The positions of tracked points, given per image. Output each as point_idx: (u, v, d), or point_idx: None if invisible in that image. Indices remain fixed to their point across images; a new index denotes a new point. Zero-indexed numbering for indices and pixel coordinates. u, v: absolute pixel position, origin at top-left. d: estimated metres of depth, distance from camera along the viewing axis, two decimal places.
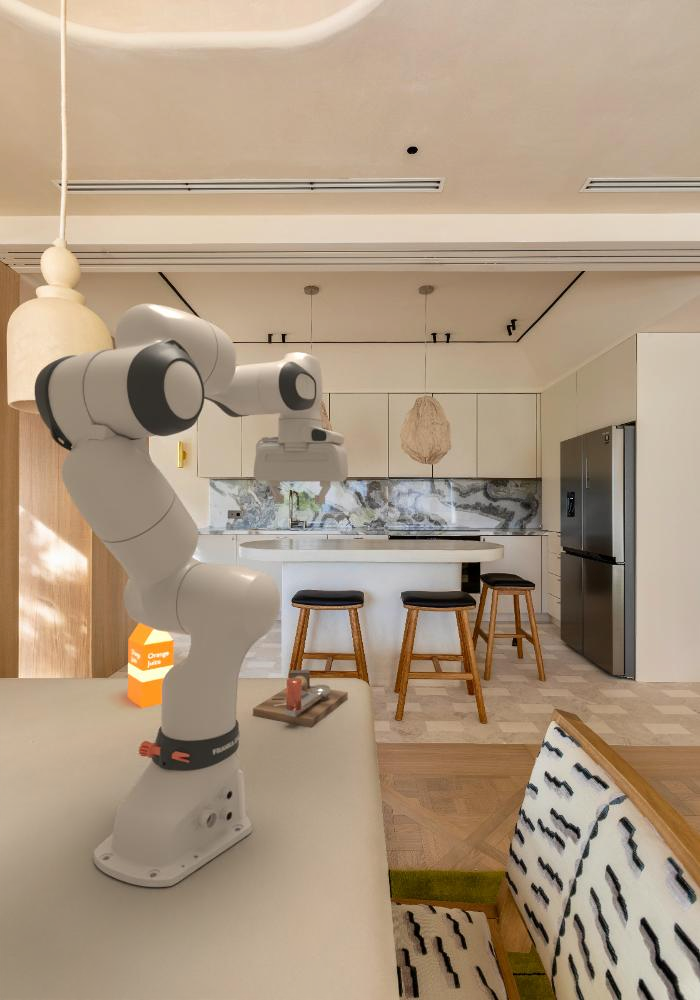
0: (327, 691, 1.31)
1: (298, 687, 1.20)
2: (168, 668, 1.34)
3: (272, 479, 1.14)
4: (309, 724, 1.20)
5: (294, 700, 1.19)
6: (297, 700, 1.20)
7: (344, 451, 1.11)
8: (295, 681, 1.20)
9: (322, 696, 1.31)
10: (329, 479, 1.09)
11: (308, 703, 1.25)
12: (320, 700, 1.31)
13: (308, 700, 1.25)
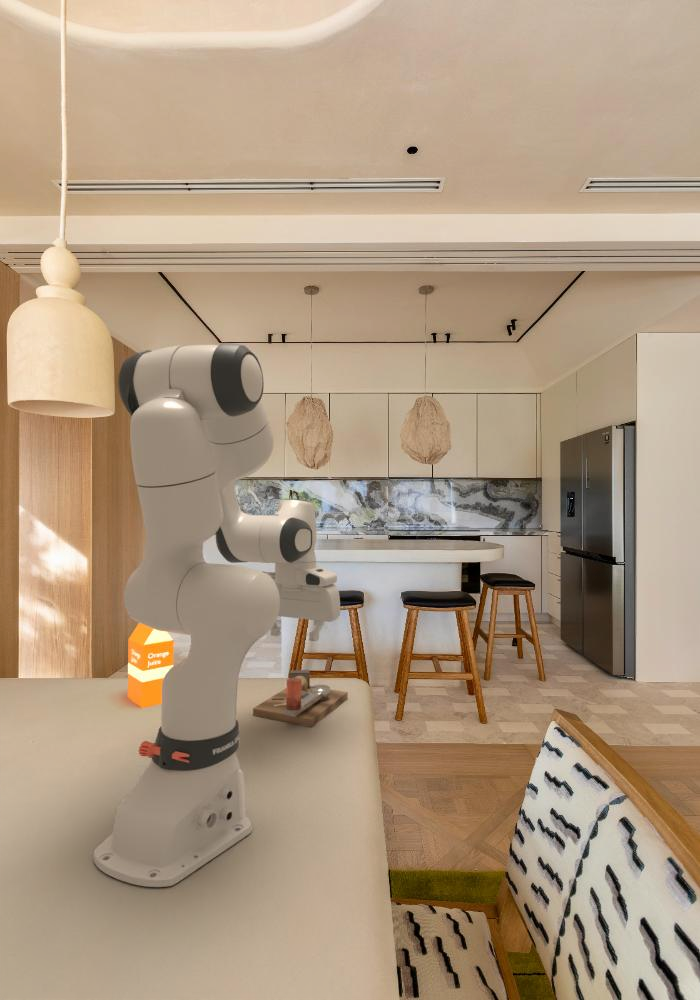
0: (327, 691, 1.31)
1: (298, 687, 1.20)
2: (168, 668, 1.34)
3: None
4: (309, 724, 1.20)
5: (294, 700, 1.19)
6: (297, 700, 1.20)
7: (337, 592, 1.18)
8: (295, 681, 1.20)
9: (322, 696, 1.31)
10: (323, 619, 1.16)
11: (308, 703, 1.25)
12: (320, 700, 1.31)
13: (308, 700, 1.25)
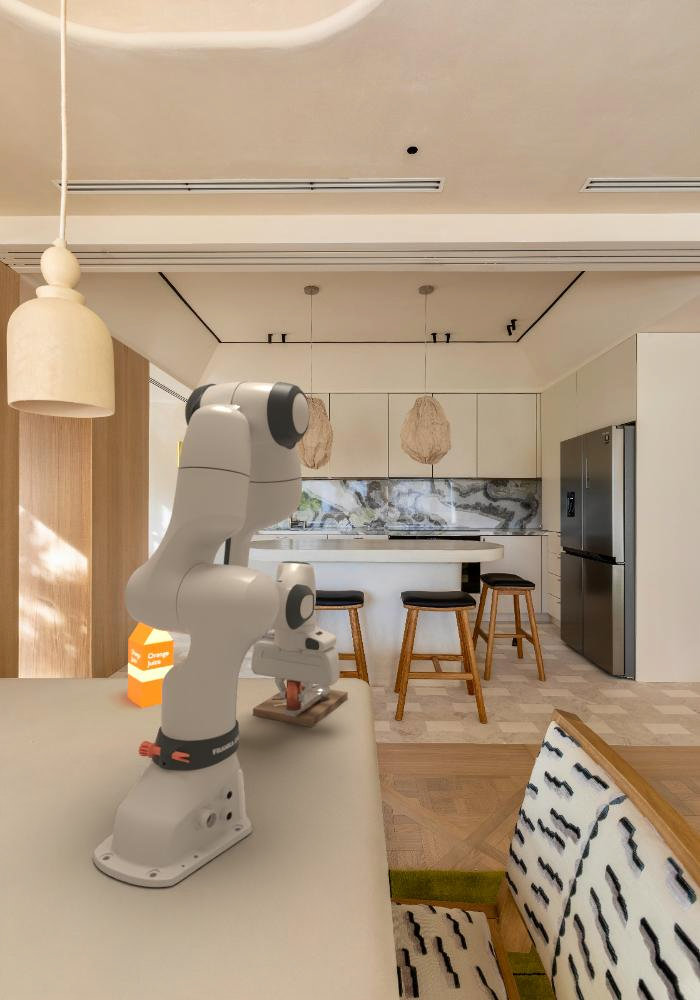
0: (327, 691, 1.31)
1: (298, 687, 1.20)
2: (168, 668, 1.34)
3: (268, 675, 1.21)
4: (309, 724, 1.20)
5: (294, 700, 1.19)
6: (297, 700, 1.20)
7: (336, 655, 1.18)
8: (295, 681, 1.20)
9: (322, 696, 1.31)
10: (322, 684, 1.16)
11: (308, 703, 1.25)
12: (320, 700, 1.31)
13: (308, 700, 1.25)
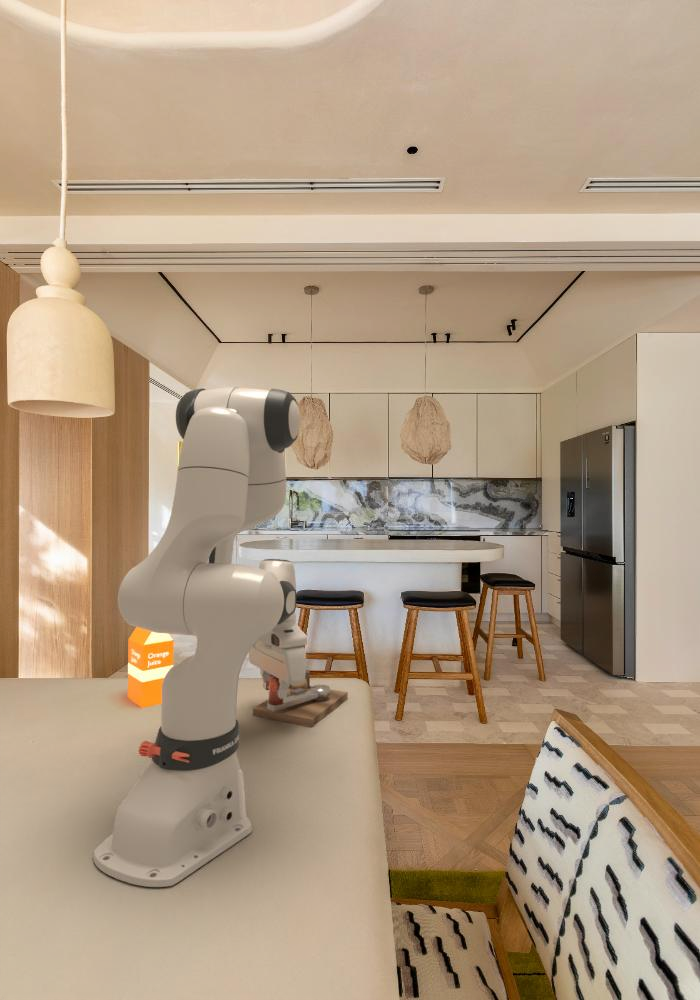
0: (324, 692, 1.31)
1: (278, 683, 1.22)
2: (168, 668, 1.34)
3: (257, 666, 1.28)
4: (309, 724, 1.20)
5: (273, 695, 1.22)
6: (276, 695, 1.22)
7: (302, 654, 1.18)
8: None
9: (318, 696, 1.31)
10: (285, 681, 1.17)
11: (295, 700, 1.26)
12: (320, 700, 1.31)
13: (297, 698, 1.27)
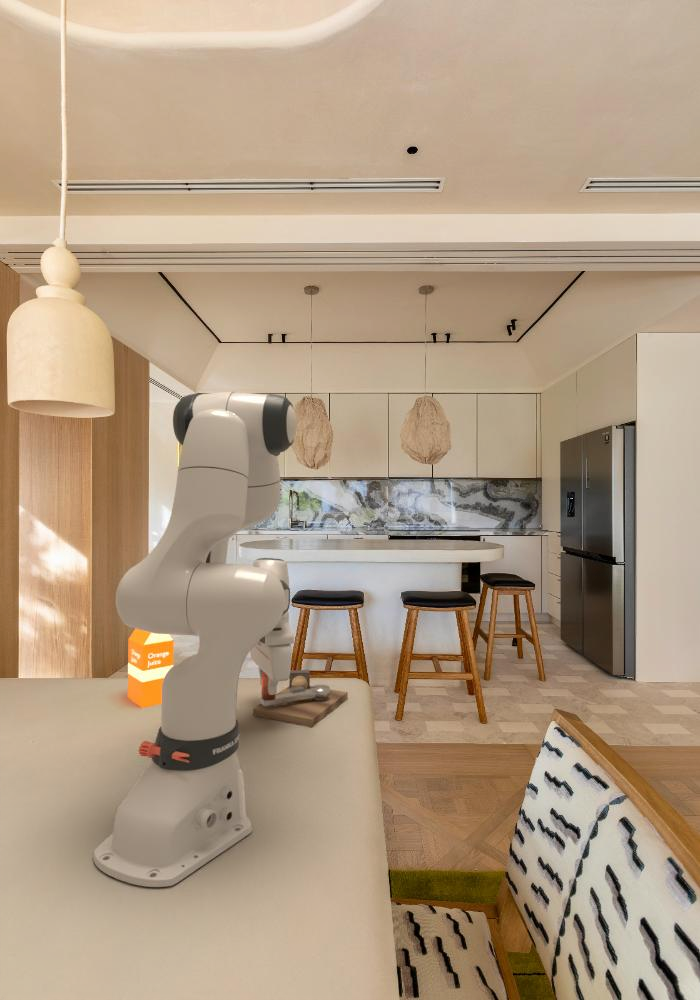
0: (322, 692, 1.31)
1: (268, 679, 1.25)
2: (168, 668, 1.34)
3: (255, 662, 1.31)
4: (309, 724, 1.20)
5: (264, 690, 1.25)
6: None
7: (287, 653, 1.19)
8: None
9: (316, 696, 1.31)
10: (270, 678, 1.19)
11: (289, 698, 1.28)
12: (320, 700, 1.31)
13: (291, 695, 1.28)
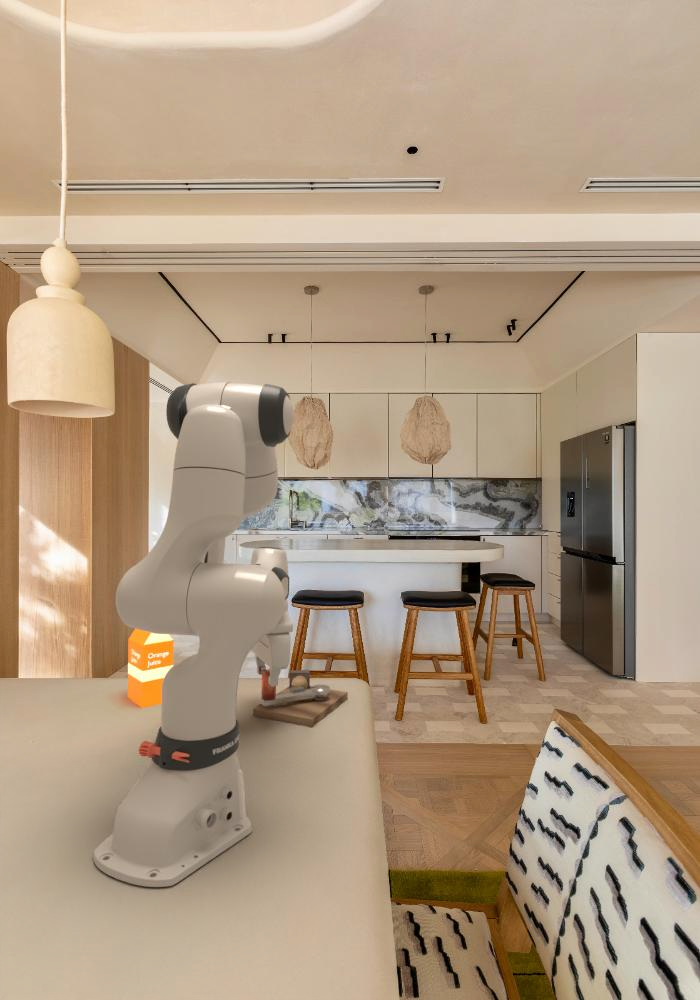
0: (322, 692, 1.31)
1: None
2: (168, 668, 1.34)
3: (254, 652, 1.31)
4: (309, 724, 1.20)
5: (264, 690, 1.25)
6: (267, 690, 1.25)
7: (286, 641, 1.19)
8: (267, 672, 1.26)
9: (316, 696, 1.31)
10: (269, 666, 1.19)
11: (289, 698, 1.28)
12: (320, 700, 1.31)
13: (291, 695, 1.28)
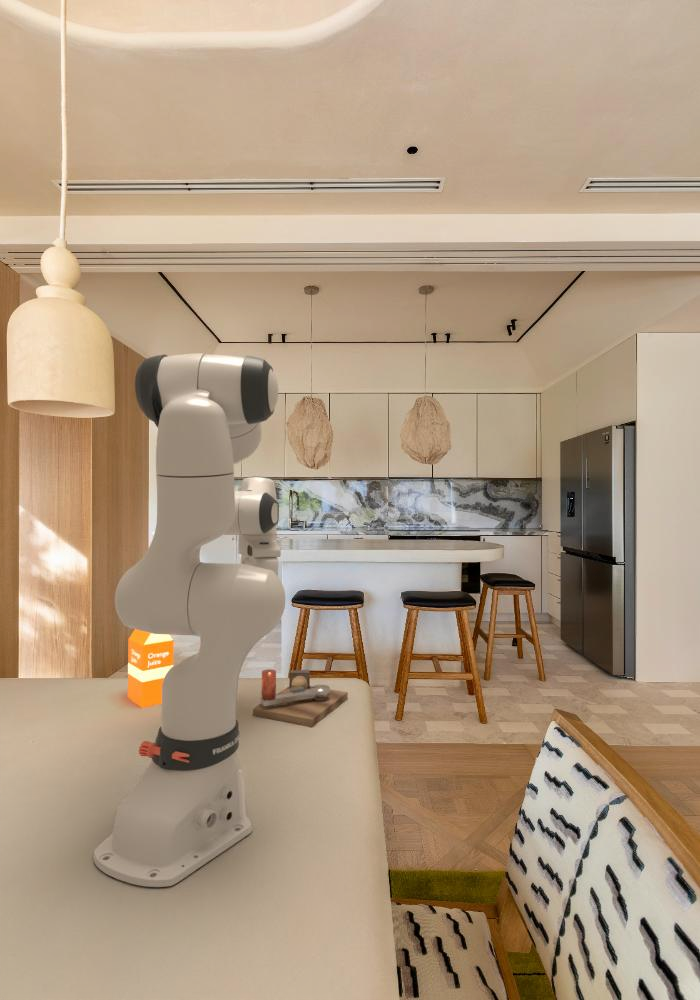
0: (322, 692, 1.31)
1: (268, 679, 1.25)
2: (168, 668, 1.34)
3: None
4: (309, 724, 1.20)
5: (264, 690, 1.25)
6: (267, 690, 1.25)
7: (273, 564, 1.23)
8: (267, 672, 1.26)
9: (316, 696, 1.31)
10: None
11: (289, 698, 1.28)
12: (320, 700, 1.31)
13: (291, 695, 1.28)
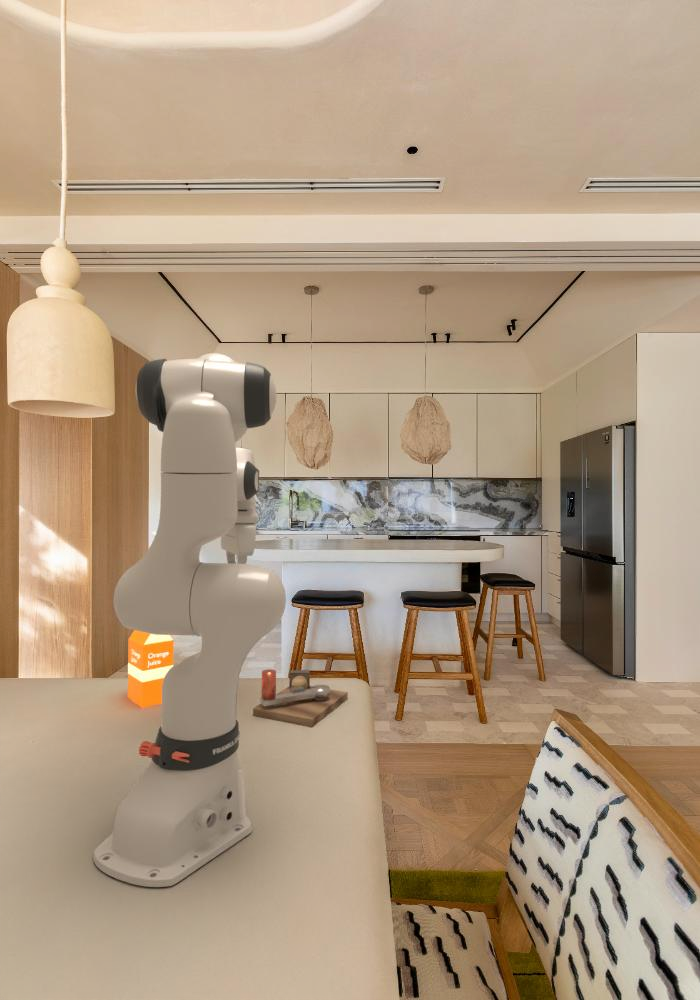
0: (322, 692, 1.31)
1: (268, 679, 1.25)
2: (168, 668, 1.34)
3: (224, 549, 1.41)
4: (309, 724, 1.20)
5: (264, 690, 1.25)
6: (267, 690, 1.25)
7: (251, 530, 1.28)
8: (267, 672, 1.26)
9: (316, 696, 1.31)
10: (236, 554, 1.29)
11: (289, 698, 1.28)
12: (320, 700, 1.31)
13: (291, 695, 1.28)
